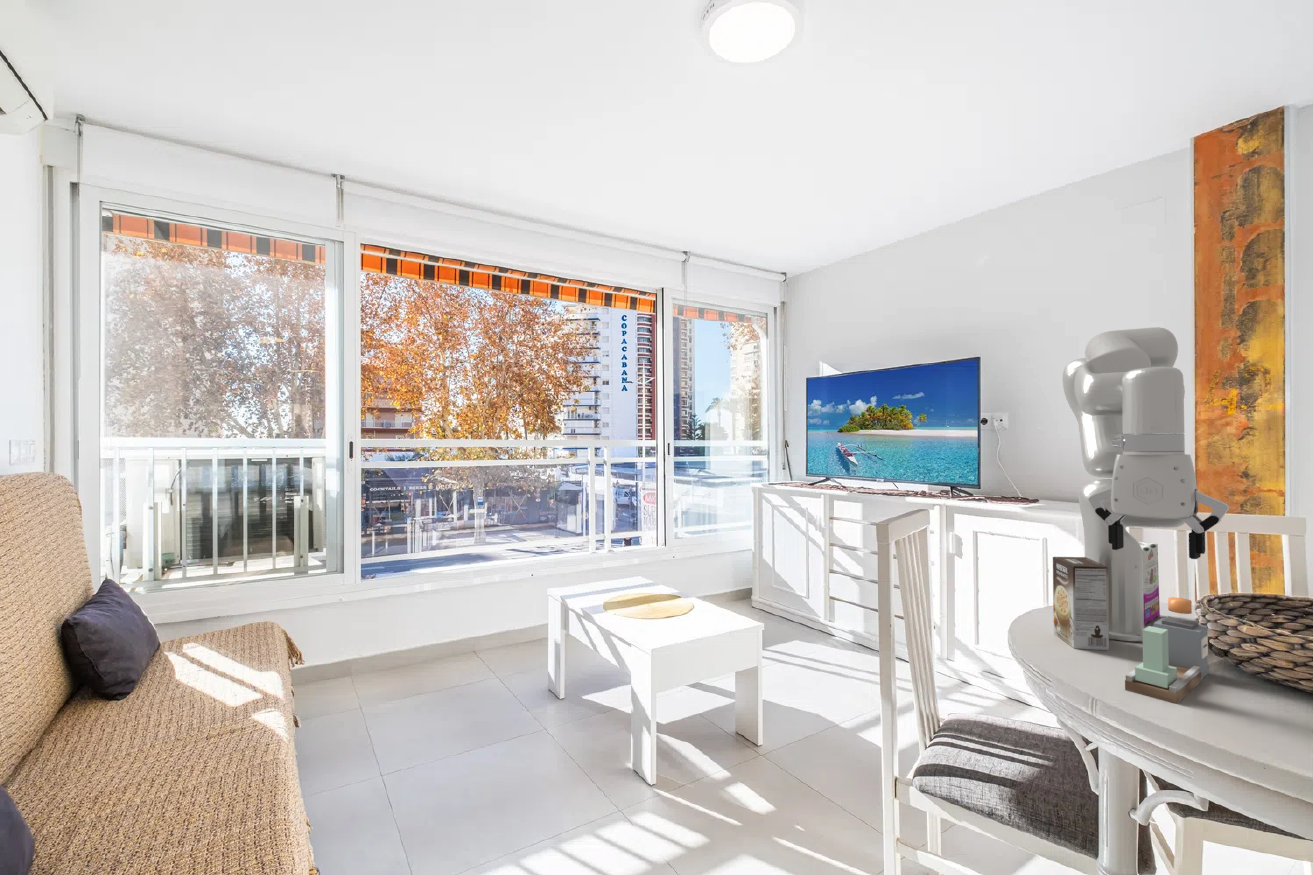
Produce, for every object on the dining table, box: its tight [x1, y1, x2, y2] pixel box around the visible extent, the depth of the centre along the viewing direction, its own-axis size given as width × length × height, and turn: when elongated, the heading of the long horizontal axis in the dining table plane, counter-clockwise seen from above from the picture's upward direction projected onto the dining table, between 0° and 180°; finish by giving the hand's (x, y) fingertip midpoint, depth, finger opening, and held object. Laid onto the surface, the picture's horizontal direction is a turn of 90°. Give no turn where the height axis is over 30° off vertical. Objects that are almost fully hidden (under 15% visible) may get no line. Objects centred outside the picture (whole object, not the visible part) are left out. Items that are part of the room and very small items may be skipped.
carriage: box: [1134, 625, 1177, 688], centre depth 94 cm, size 5×4×8 cm
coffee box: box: [1052, 556, 1110, 651], centre depth 117 cm, size 9×6×16 cm
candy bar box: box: [1137, 540, 1161, 626], centre depth 131 cm, size 11×5×16 cm, turn 126°
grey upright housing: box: [1153, 616, 1209, 680], centre depth 102 cm, size 5×6×9 cm
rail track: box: [1124, 665, 1202, 705], centre depth 96 cm, size 14×6×2 cm, turn 126°
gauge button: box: [1167, 596, 1193, 615], centre depth 102 cm, size 3×3×2 cm
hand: (1154, 553), depth 94 cm, fingers open, 9 cm apart
